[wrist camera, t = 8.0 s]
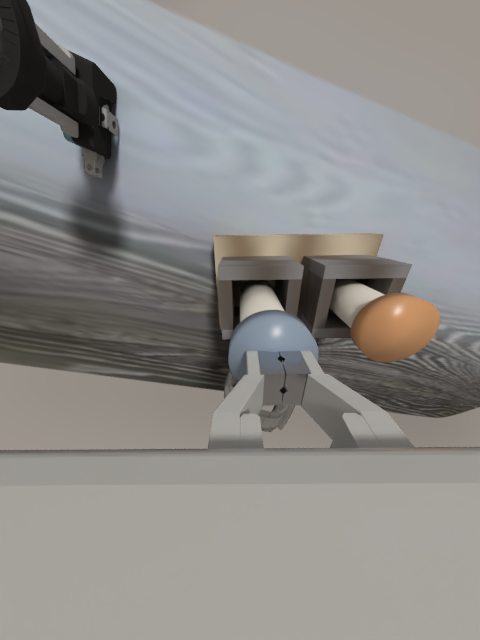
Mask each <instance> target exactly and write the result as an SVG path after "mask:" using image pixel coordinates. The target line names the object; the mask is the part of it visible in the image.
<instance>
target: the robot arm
mask: <svg viewBox="0 0 480 640" xmlns="http://www.w3.org/2000/svg"><path fill="white" fill-rule="evenodd" d="M281 402H282V405H301V406H302V407H303V409H304V410H305V411H306V412H307V413H308V414H309V415H310V416H311V417H312V418H313V419H314V421H315V422H316V423H317V424H318V425H319V426H320V427H321V428H322V429H323V430H324V431H325V432H326V433H327V434H328V436H329V437H330V438H331V439H332V440H333V441H332V444H331V446H330V448H280V449H279V448H265V449H264V448H263V439H262V431H261V422H260V417H259V416H258V415H259V413H260V410H261V408H262V405H281ZM0 640H480V447H417V448H416V447H414V446H413V445H412V443H411V442H410V441H409V440H408V438H407V437H406V436H405V435H404V433H403V432H402V431H401V430H400V428H399V427H398V426H397V424H396V423H395V422H394V420H393V419H392V418H391V417H390V415H389V414H388V413H387V412H386V411H385V410H383V409H381V408H380V407H378V406H377V405H375V404H374V403H372V402H371V401H369V400H367V399H366V398H364V397H363V396H361V395H360V394H358V393H356V392H355V391H353V390H352V389H350V388H349V387H347V386H346V385H344V384H342V383H341V382H339V381H338V380H336V379H335V378H333V377H331V376H330V375H328V374H324V373H323V371H322V369H321V367H320V366H319V364H318V362H317V360H316V359H315V357H314V355H313V354H312V352H311V351H310V350H299V351H247V352H246V375H244V376H243V377H242V378H241V380H240V381H239V382H238V383H237V385H236V386H235V387H234V388H233V389H232V391H231V392H230V393H229V394H228V395H227V397H226V398H225V399H224V400H223V401H222V403H221V404H220V405H219V406H218V408H217V409H216V410H215V411H214V413H213V418H212V424H211V431H210V438H209V445H208V449H131V450H130V449H124V450H122V449H120V450H119V449H118V450H0Z"/></svg>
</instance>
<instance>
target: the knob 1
mask: <svg viewBox="0 0 480 640" xmlns="http://www.w3.org/2000/svg"><path fill="white" fill-rule="evenodd" d="M299 350H310V351H311V352H312V354H313V355H314V357H315V359H316V360H317V361H318V346H317V343H316V341H315V339H314V338H313V336H312V335H311V333H310V332H309V330H308V329H307V327H306V326H305V324H304V323H303V322H302V321H301V320H300V319H299V318H298V317H296V316H295V315H293V314H291V313H289V312H285V311H284V309H283V307H282V306H281V304H280V302H279V300H278V298H277V296H276V294H275V293H274V291H273V289H272V287H271V285H270V284H269V283H268V282H266V281H264V280H251V281H248V282H247V283H246V284H244V286H243V287H242V289H241V291H240V323H239V324H238V325H237V326H236V328H235V329H234V331H233V333H232V335H231V338H230V344H229V357H228V362H229V367H230V370H231V372H232V374H233V376H234V377H235V378H236V379H237V380H238V381H240V380H241V378H242V377H243V376H244V375H246V352H247V351H299Z"/></svg>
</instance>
